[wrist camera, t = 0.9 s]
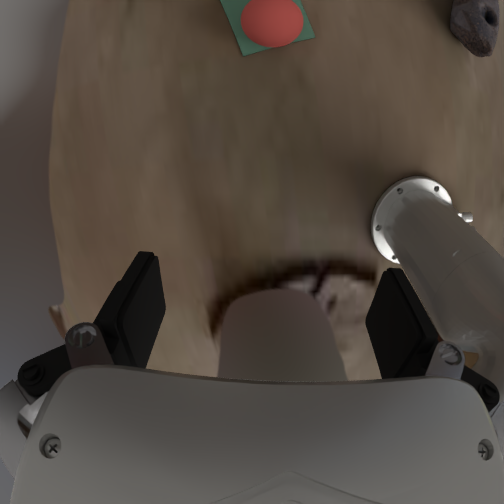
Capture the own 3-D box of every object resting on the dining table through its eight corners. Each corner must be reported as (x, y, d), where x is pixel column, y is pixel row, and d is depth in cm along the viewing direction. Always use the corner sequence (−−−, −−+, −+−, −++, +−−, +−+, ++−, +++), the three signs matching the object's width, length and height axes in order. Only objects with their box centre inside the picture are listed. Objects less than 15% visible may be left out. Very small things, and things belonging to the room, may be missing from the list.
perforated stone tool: (452, -38, 14) (479, -50, 8) (481, -16, 15) (510, -23, 9) (436, 38, 22) (469, 34, 16) (467, 60, 22) (501, 61, 16)
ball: (295, 1, 22) (300, -16, 17) (304, 48, 25) (312, 39, 20) (239, 7, 23) (232, -9, 18) (248, 54, 26) (243, 46, 21)
